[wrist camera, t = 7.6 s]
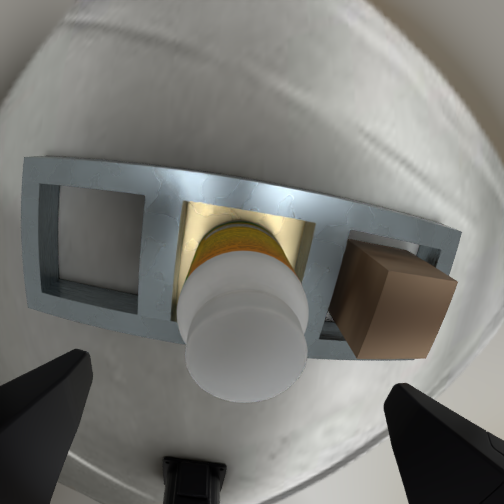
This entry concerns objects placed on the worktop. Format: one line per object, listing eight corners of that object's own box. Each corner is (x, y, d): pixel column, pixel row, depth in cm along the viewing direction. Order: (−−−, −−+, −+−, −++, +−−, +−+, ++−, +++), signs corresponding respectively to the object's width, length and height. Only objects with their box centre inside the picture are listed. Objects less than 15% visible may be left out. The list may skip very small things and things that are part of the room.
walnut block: (385, 313, 21) (425, 358, 15) (326, 307, 20) (356, 358, 14) (406, 250, 19) (457, 281, 14) (345, 238, 19) (388, 270, 13)
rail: (400, 342, 22) (414, 359, 19) (44, 293, 19) (28, 307, 16) (441, 223, 19) (461, 231, 17) (45, 155, 16) (24, 157, 13)
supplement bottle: (185, 228, 18) (138, 302, 8) (275, 210, 18) (322, 267, 8) (206, 309, 19) (190, 424, 10) (288, 293, 19) (331, 400, 10)
